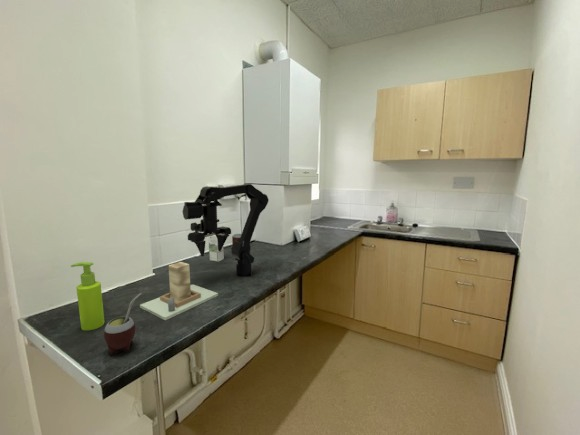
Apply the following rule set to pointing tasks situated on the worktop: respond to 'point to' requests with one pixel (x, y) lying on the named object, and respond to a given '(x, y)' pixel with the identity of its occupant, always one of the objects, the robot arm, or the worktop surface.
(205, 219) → the robot arm
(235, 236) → the soda can
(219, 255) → the syrup box
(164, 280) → the worktop surface
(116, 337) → the mate gourd
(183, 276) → the pine post
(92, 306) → the soap dispenser
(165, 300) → the seat plate
